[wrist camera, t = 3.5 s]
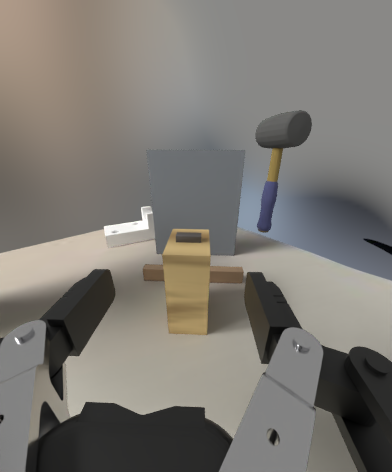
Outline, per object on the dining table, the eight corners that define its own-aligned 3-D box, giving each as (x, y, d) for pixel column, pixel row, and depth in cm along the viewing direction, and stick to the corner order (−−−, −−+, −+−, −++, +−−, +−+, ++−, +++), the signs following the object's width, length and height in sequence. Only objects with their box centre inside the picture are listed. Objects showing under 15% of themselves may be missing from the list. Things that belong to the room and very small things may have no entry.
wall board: (241, 283, 33) (260, 149, 24) (144, 280, 34) (125, 148, 24) (232, 251, 44) (243, 150, 34) (158, 249, 44) (149, 149, 35)
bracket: (152, 230, 56) (150, 206, 53) (159, 238, 50) (156, 212, 47) (106, 238, 51) (100, 212, 48) (108, 249, 45) (101, 220, 42)
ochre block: (206, 334, 24) (210, 249, 18) (169, 333, 24) (161, 247, 19) (206, 296, 30) (209, 224, 25) (176, 295, 30) (172, 223, 25)
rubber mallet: (288, 238, 50) (319, 108, 38) (264, 241, 49) (289, 106, 36) (262, 223, 61) (280, 118, 49) (242, 225, 59) (255, 116, 47)
